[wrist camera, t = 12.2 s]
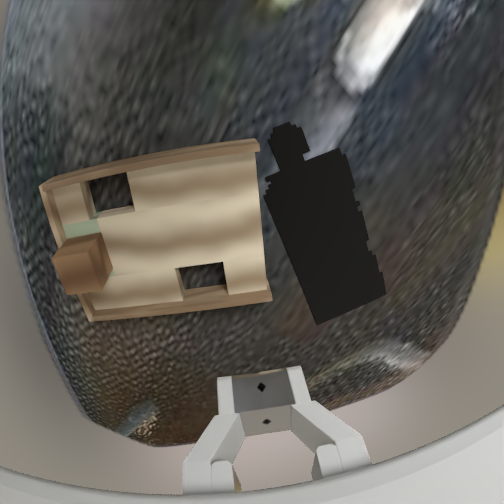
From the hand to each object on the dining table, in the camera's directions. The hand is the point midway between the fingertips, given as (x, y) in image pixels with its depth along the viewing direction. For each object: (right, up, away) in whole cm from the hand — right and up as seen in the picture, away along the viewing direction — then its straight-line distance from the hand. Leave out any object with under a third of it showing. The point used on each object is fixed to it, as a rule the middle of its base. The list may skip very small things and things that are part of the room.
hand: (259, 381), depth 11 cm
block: (-20, +5, +25) cm, 32 cm away
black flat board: (+10, +8, +30) cm, 33 cm away
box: (-11, +7, +27) cm, 30 cm away
